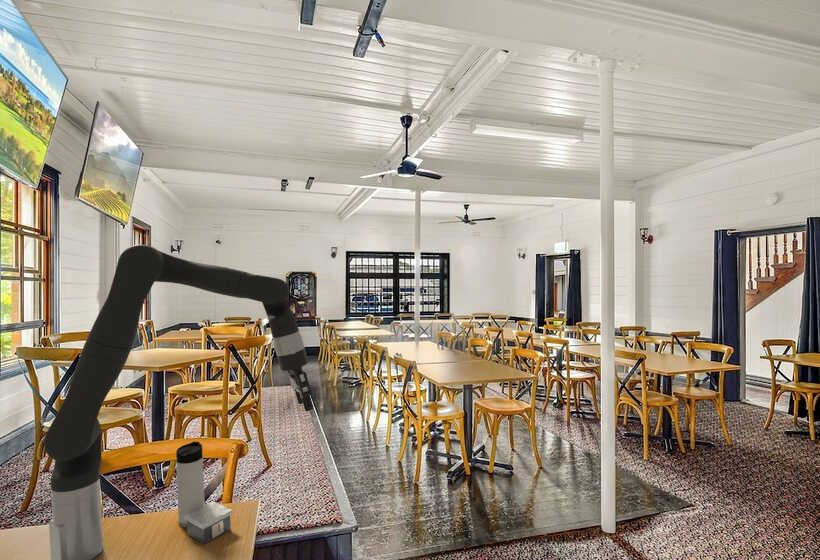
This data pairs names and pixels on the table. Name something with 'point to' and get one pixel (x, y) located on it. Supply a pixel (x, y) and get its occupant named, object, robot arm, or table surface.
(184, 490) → the travel mug
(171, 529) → the table surface
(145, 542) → the table surface
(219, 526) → the lidded box with label
